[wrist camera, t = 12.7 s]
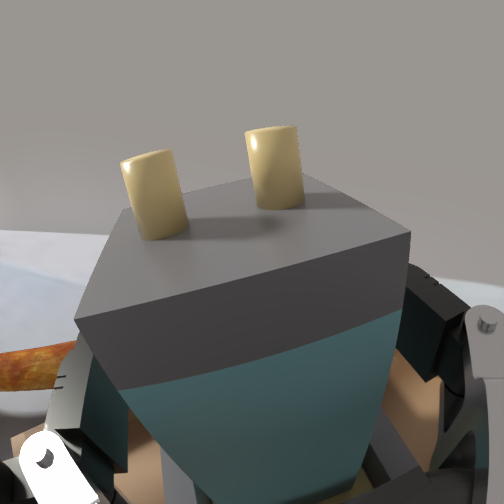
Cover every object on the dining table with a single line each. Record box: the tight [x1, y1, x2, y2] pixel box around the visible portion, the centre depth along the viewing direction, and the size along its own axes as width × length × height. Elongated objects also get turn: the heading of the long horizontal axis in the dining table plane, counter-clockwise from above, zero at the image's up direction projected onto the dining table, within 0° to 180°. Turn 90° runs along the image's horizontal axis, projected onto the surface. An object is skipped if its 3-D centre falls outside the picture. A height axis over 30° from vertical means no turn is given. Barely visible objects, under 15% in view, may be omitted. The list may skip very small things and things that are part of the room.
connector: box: [74, 125, 411, 504], centre depth 8 cm, size 5×5×14 cm
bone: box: [0, 341, 76, 391], centre depth 17 cm, size 33×8×10 cm, turn 97°
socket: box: [160, 407, 419, 504], centre depth 11 cm, size 10×10×2 cm
